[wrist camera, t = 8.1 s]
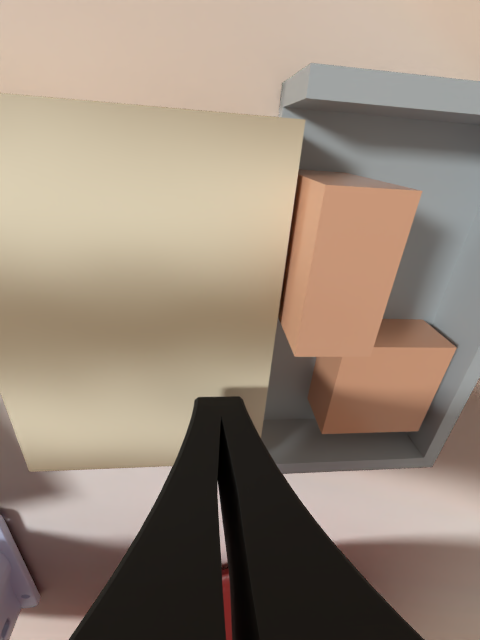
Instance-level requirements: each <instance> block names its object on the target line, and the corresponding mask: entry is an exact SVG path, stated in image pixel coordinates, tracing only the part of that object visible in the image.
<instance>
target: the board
mask: <svg viewBox="0 0 480 640" xmlns="http://www.w3.org/2000/svg"><path fill="white" fill-rule="evenodd" d="M305 121H306V120H305V119H293V118H282V117H271V116H259V115H248V114H236V113H225V112H213V111H202V110H190V109H179V108H168V107H156V106H145V105H133V104H122V103H110V102H99V101H88V100H76V99H65V98H53V97H42V96H30V95H19V94H7V93H0V393H1V396H2V399H3V402H4V404H5V407H6V410H7V412H8V415H9V418H10V421H11V423H12V426H13V429H14V431H15V434H16V437H17V440H18V442H19V445H20V448H21V451H22V453H23V456H24V459H25V461H26V464H27V467H28V470H29V472H36V471H61V470H85V469H110V468H135V467H159V466H173V465H174V462H175V460H176V458H177V455H178V453H179V450H180V448H181V445H182V443H183V440H184V438H185V435H186V432H187V429H188V426H189V423H190V420H191V416H192V412H193V407H194V400H195V399H196V398H198V397H227V396H240V397H241V398H242V399H243V401H244V404H245V407H246V409H247V411H248V414H249V416H250V418H251V420H252V422H253V424H254V426H255V428H256V430H257V432H258V434H259V436H260V438H261V435H262V428H263V420H264V413H265V406H266V399H267V392H268V385H269V378H270V370H271V363H272V356H273V349H274V342H275V335H276V328H277V320H278V313H279V306H280V299H281V292H282V285H283V278H284V270H285V263H286V256H287V249H288V242H289V235H290V228H291V220H292V213H293V206H294V199H295V192H296V185H297V178H298V171H299V163H300V156H301V149H302V142H303V135H304V128H305Z"/></svg>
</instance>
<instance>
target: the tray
mask: <svg viewBox="0 0 480 640" xmlns="http://www.w3.org/2000/svg"><path fill="white" fill-rule="evenodd" d="M279 117H282V118H293V119H305V120H306V121H305V128H304V135H303V142H302V149H301V156H300V163H299V169H302V170H316V171H331V172H345V173H350V174H354V175H358V176H362V177H367V178H371V179H375V180H379V181H383V182H387V183H392V184H396V185H400V186H404V187H408V188H412V189H417V190H421V191H422V194H421V197H420V201H419V204H418V207H417V210H416V213H415V216H414V220H413V223H412V226H411V229H410V232H409V236H408V239H407V242H406V245H405V248H404V251H403V255H402V258H401V261H400V264H399V267H398V271H397V274H396V277H395V280H394V283H393V286H392V290H391V293H390V296H389V299H388V302H387V306H386V309H385V312H384V315H383V318H382V319H423V320H424V321H425V322H426V323H428V324H429V325H430V326H431V327H432V328H434V329H435V330H436V331H437V332H438V333H440V334H441V335H442V336H443V337H445V338H446V339H447V340H448V341H449V342H451V343H452V344H453V345H454V346H455V347H457V349H456V351H455V353H454V355H453V357H452V359H451V361H450V364H449V366H448V368H447V370H446V372H445V374H444V377H443V379H442V381H441V383H440V385H439V387H438V390H437V392H436V394H435V396H434V398H433V400H432V402H431V405H430V407H429V409H428V411H427V413H426V415H425V418H424V420H423V422H422V424H421V426H420V428H419V431H412V432H377V433H342V434H322V433H321V431H320V429H319V426H318V424H317V421H316V419H315V416H314V414H313V411H312V409H311V406H310V404H309V401H308V399H307V397H308V393H309V388H310V384H311V379H312V375H313V370H314V366H315V361H316V357H295V356H294V354H293V351H292V349H291V347H290V344H289V342H288V340H287V337H286V335H285V332H284V330H283V328H282V325H281V323H280V321H279V318H278V320H277V328H276V335H275V342H274V349H273V356H272V363H271V370H270V378H269V385H268V392H267V399H266V406H265V413H264V420H263V428H262V435H261V439H262V441H263V443H264V445H265V446H266V448H267V450H268V452H269V453H270V455H271V457H272V458H273V460H274V462H275V463H276V465H277V467H278V468H279V470H280V471H281V473H282V474H289V473H311V472H333V471H356V470H378V469H400V468H422V467H433V465H434V463H435V461H436V459H437V457H438V455H439V453H440V451H441V449H442V448H443V446H444V444H445V442H446V440H447V438H448V436H449V434H450V432H451V430H452V429H453V427H454V425H455V423H456V421H457V419H458V417H459V415H460V413H461V412H462V410H463V408H464V406H465V404H466V402H467V400H468V398H469V396H470V394H471V393H472V391H473V389H474V387H475V385H476V383H477V381H478V379H479V377H480V81H472V80H463V79H453V78H444V77H435V76H426V75H417V74H407V73H398V72H389V71H380V70H371V69H361V68H352V67H343V66H334V65H325V64H316V63H310V64H309V65H307V66H306V67H304V68H303V69H302V70H300V71H299V72H297V73H296V74H294V75H293V76H292V77H290V78H289V79H287V80H286V81H284V82H283V83H282V89H281V99H280V108H279Z"/></svg>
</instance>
